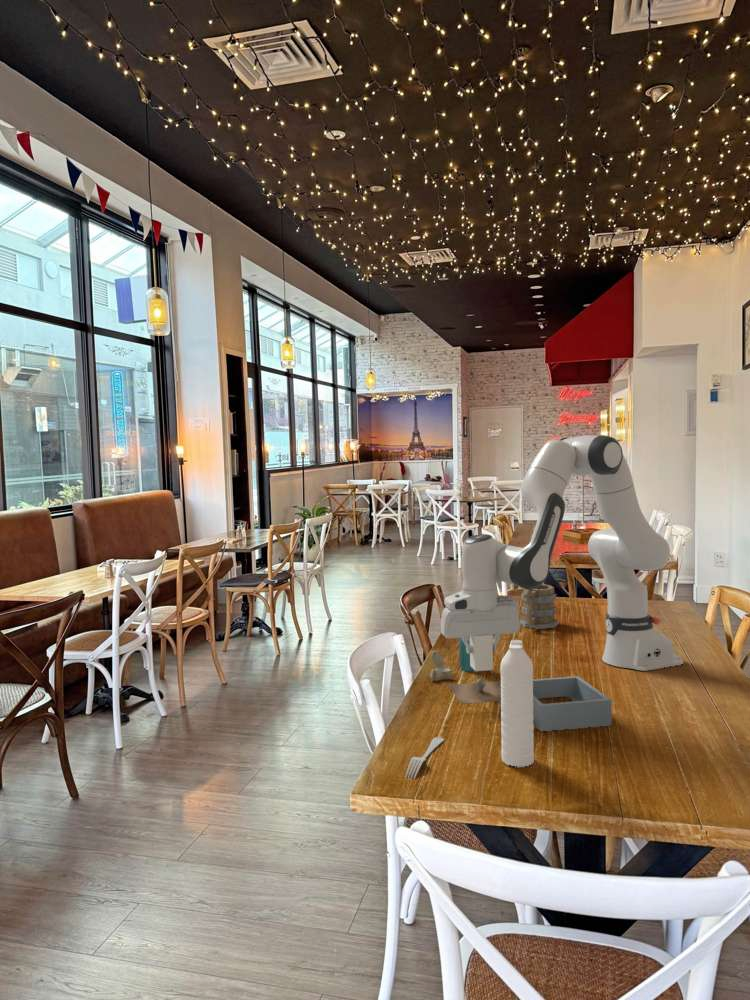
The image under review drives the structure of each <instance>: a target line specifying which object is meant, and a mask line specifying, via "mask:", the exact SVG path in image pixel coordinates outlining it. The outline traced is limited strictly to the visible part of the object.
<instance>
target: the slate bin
mask: <svg viewBox="0 0 750 1000" xmlns="http://www.w3.org/2000/svg"><path fill="white" fill-rule="evenodd" d="M559 697H567V698H568V699H570V700H571V701H565V702H563V701H562V702H554V703H553V702H552V703H551V702H550V703H543V702H541V701H540V700H539V699H549V698H550V699H551V698H559ZM533 724H534V725H535V726H536V727H537V728H538V729H539V730H540V731H547V732H553V731H552V730H558V731H566V730H565V729H569V730H578V729H579V728H580V729H587V728H588V727H591V728H601V727H600V726H602V727H610V726H612V699H611V698H609V697H608V696H606V695H605V694H604V693H602V692H601V691H599V690H598V689H597V688H596V687H594V686H593V685H591V684H590V683H589V682H587V681H586V680H584V679H583V678H582V677H580V676H579V675H578V676H577V675H574V676H563V677H560V676H559V677H551V678H550V677H549V678H538V679H533ZM535 726H534V727H535ZM536 727H535V728H536ZM537 728H536V729H537ZM538 729H537V730H538ZM580 729H579V730H580ZM539 730H538V731H539ZM540 731H539V732H540Z"/></svg>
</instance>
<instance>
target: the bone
mask: <svg viewBox="0 0 750 1000" xmlns="http://www.w3.org/2000/svg"><path fill="white" fill-rule="evenodd" d="M430 659H431V661H432V662H433V663H434V664H435V668H432V669H431V670H430V674H429V677H430V680H431V681H432V682H437V681H441V680H455V679H454V676H455V675H454V673H453V670H452V669H450V667H444V664H445V661H444V656H442V655H441V653H439V652H438V651H435V650H432V652H431V654H430Z"/></svg>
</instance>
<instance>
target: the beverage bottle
mask: <svg viewBox="0 0 750 1000" xmlns="http://www.w3.org/2000/svg"><path fill="white" fill-rule="evenodd" d="M467 642H468V644H469V645H470V637H469V641H467ZM458 645H459V646H458V650H459V652H458V655H459V658H458V659H459V660H458V661H459V668H460V670H462V671H463V672H468V673H469V672H470V673H473V672H476V671H475V670H474V669H473V668H472V667H471V666H470V654H468V653H467V652H466V645H465V644H464V642H463V641H462V639H461V637H459V638H458Z"/></svg>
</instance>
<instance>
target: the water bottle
mask: <svg viewBox="0 0 750 1000" xmlns="http://www.w3.org/2000/svg"><path fill="white" fill-rule="evenodd" d="M509 643H510V644H509V646H508V650H507V651H506V653H505V655H504V656H503V657H502V659H501V661H500V683H501V701H500V710H501V711H500V719H501V721H500V725H501V727H500V731H501V733H500V735H501V739H500V740H501V749H500V750H501V751H500V752H501V757H500V758H501V761H502V763H504V764H505V765H507V766H509V765H511V766H510V767H513V766H515V767H514V768H526V767H525V766H527V767H530V766H531V764H532V765H533V764H534V762H535V753H534V752H535V750H534V747H535V743H534V741H535V740H534V736H535V734H534V727H535V726H534V725H533V720H534V719H533V680H534V677H533V676H534V665H533V662H532V659H531V658H530V656H529V655H528V653H527V652H526V651H525V649H524V648H523V647H524V645H523V641H522V640H520V639H512V640H510V642H509ZM529 765H530V766H529ZM516 766H517V767H516Z"/></svg>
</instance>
